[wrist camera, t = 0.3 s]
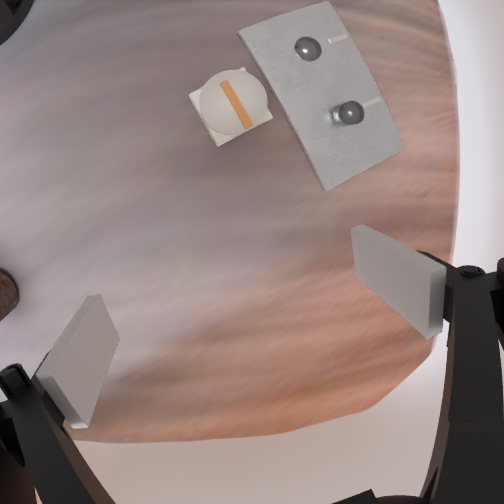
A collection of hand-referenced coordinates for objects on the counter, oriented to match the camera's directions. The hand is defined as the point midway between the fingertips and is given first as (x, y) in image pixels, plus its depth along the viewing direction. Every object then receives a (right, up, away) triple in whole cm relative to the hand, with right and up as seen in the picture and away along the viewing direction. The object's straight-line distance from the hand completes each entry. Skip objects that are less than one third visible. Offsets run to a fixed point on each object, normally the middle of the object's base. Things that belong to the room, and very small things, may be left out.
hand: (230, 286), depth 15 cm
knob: (-2, +19, +21) cm, 29 cm away
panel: (+11, +23, +22) cm, 34 cm away
